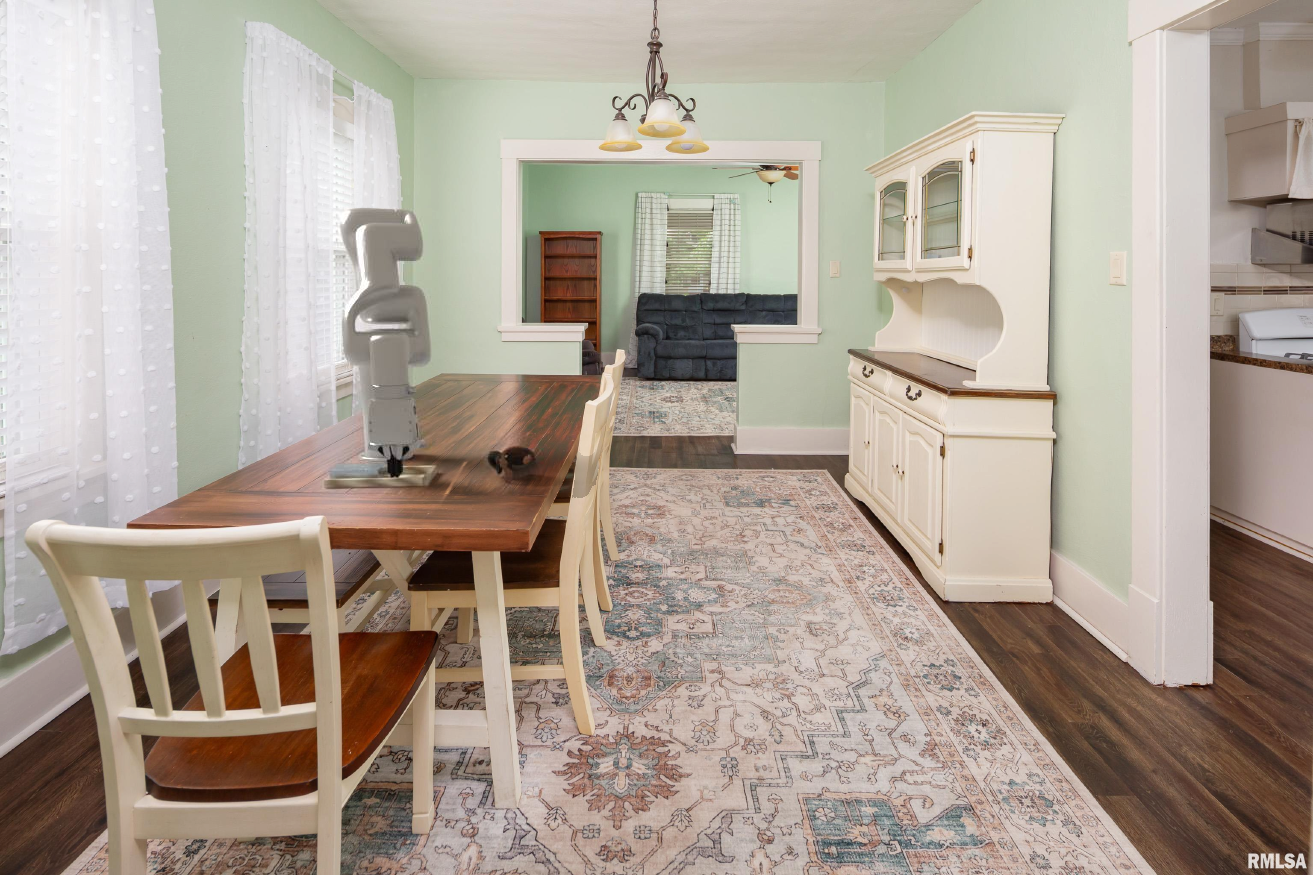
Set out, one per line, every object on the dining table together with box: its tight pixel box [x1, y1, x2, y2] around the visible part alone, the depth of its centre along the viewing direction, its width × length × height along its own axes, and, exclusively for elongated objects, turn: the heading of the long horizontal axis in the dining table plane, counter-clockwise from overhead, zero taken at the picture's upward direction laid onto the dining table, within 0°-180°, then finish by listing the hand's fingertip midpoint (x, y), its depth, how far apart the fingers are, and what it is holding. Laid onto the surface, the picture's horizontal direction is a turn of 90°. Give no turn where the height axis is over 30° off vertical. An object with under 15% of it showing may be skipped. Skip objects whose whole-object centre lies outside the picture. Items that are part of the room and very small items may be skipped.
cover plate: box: [329, 462, 387, 479], centre depth 176 cm, size 10×7×3 cm
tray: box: [323, 465, 438, 489], centre depth 176 cm, size 21×12×2 cm, turn 96°
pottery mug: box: [486, 445, 539, 484], centre depth 180 cm, size 12×10×8 cm
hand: (395, 476), depth 177 cm, fingers closed
